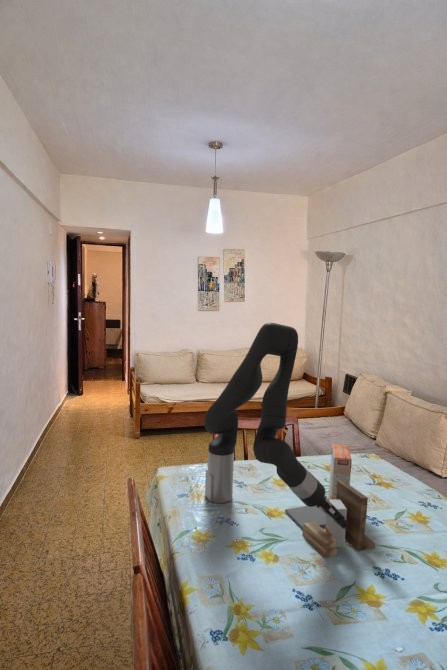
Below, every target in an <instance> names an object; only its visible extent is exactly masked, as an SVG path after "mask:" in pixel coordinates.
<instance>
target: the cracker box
mask: <svg viewBox="0 0 447 670" xmlns="http://www.w3.org/2000/svg"><path fill="white" fill-rule="evenodd" d="M331 445H332V446H331V457H330V458H331V459H330V472H329V473H330V474H329V483H328V484H329V486H328V497H327V498H328V499H329V500H336V494H337V481H340V480H343V481H345V482H346V483H348V484H349V485H350V486H351V473H352V460H353V459H352V455H351V452H350V448H349V445H347V444H346V445H345V444H337V443H336V444H335V443H332V444H331Z"/></svg>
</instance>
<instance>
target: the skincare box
mask: <svg viewBox="0 0 447 670" xmlns="http://www.w3.org/2000/svg"><path fill="white" fill-rule="evenodd" d="M329 501H330V502H331V503H332V504H333V505H334V506H335V507H336V508H337V510H338V511H339V512H340V513H341V514H342V515H343V516H344V517H345V520H346V516H347V509H346V507H345V506H344V504H343V503H342V502H341V500H329ZM330 506H331V505H330ZM326 513H327V512H326ZM327 514H328V513H327ZM324 528H325V529H324V530H325V531H326V532H327V533H328V534H330V535H331V536H332V537H333V538H334V539H336V547H335V548H345V545H346V540H345V532H346V528H345V529H343V528H342V527H341V526H340V525H339V524H337V522H335V520H333V519H332V518H331V517H328V516H327V515H326V527H324Z"/></svg>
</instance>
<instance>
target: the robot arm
mask: <svg viewBox="0 0 447 670" xmlns="http://www.w3.org/2000/svg"><path fill="white" fill-rule="evenodd" d="M298 347H299V334H298V331H297V329H296V328H295V327H292V326H288V325H285V324H280V323H276V322H266V323H264V324H262V326H261V327H260V328H259V330H258V332H257V334H256V336H255V337H254V340H253V342H252V344H251V345H250V348H249V350H248V352H247V354H245V357H244V358H243V360H242V362H241V364H240V365H239V366H238V367H237V369H236V371H235V372H234V373H233V375H232V376H231V378H230V380H229V381H228V383H227V384H226V386H225V388H224V389H223V391H222V392H221V393H220V395H219V396H218V398H216V400H215V401H214V402H213V403H212V404H211V406H210V407H209V408H208V409H207V410H206V413H205V415H204V419H203V424H204V425H203V426H204V429H205V430H206V431H207V432H208V433H209V434H211V435H217V436H216V437H214V439H212V440H210V442H209V444H208V453H207V454H208V456H207V457H208V458H207V469H206V470H205V481H204V482H205V484H204V485H205V486H204V488H205V489H204V495H205V497H206V499H207V500H208V502H209V503H216V504H224V503H225V504H226V503H228V502H230V501H231V500H233V493H234V492H233V490H234V489H233V488H234V487H233V486H234V468H235V467H234V466H235V465H234V464H235V461H234V460H235V448H236V445H237V441H238V440H237V439H238V430H239V429H238V428H239V416H238V411H237V409H239V408H241V407H242V406H244V405H245V404H247V403H248V402H249V401H251V400H252V399H253V398H254V396H255V395H256V393H257V392H258V391H259V389H260V388H261V387H262V384H263V372H262V368H261V367H262V366H261V363H262V362H263V359H264V358H265V357H266V356H268V355H270V356H271V355H272V356H277V357H279V366H278V369H277V372H276V373H275V376H274V377H273V379H272V380H271V381H270V383H269V385H268V386H267V387H266V389H265V390H264V391H265V392H264V394H263V397H262V399H261V400H262V401H261V413H260V415H261V416H260V422H259V425H258V428H257V431H256V433H255V437H254V440H253V447H252V449H253V455H254V457H255V459H256V460H257V462H259V463H261V464H262V463H263V464H267V465H268V464H269V465H273V466H275V467H276V474H277V476H278V478H279V479H280V480H282V482H283V483H284V484H286V485H287V486H288V488H289V489H290V490H291V491H292V492H293V494H294V495H295V496H296V497H297V498H298V499H299V500H300V501H301V503H303V504H304V505H305V506H309V507H314V506H316V507H317V508H318V509H319V510H320V511H323V512H324V513H325V514H326V515H327V516H328V517H331V518H332V519H333V520H335V522H337V524H339V525H340V526H341V527H342V528H343V529H345V528H346V527H347V525H348V522H347V521H346V520H345V517H344V516H343V515H342V514H341V513H340V512H339V511H338V510H337V508H336V507H335V506H334V505H333V504H332V503H331V502H330V501H329V499H328V497H327V496H326V488H325V486H324V485H323V484H322V483H321V482H320V480H318V479H317V477H316V476H314V474H313V473H312V472H311V471H310V470H309V469H307V468H306V467H305V466H304V465H303V464H302V463H301V462H300V461H299V460H298V458H297V457H296V455H295V452H294V451H293V448H292V447H291V446H290V445H289V443H288V442H286V441H285V440H283V439H282V438H277V437H276V435H277V432H278V431H279V430H282V429H284V428H285V427H286V423H287V411H288V410H287V408H288V407H287V406H288V399H289V397H288V396H289V389H290V384H291V380H292V376H293V373H294V372H293V371H294V367H295V366H294V365H295V360H296V357H297V353H298ZM330 505H331V506H330ZM326 512H327V513H328V514H327V513H326Z"/></svg>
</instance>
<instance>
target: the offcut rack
mask: <svg viewBox="0 0 447 670" xmlns="http://www.w3.org/2000/svg"><path fill="white" fill-rule="evenodd" d="M368 499H369V498H368V496H366V495H365V494H363V493H362V492H361V491H359V490H357V489H356V488H355V487H354V486H352V485H351V484H350V485H349V484H348V483H346V482H345V481H343V480H340V481H337V494H336V500H341V502H342V503H343V504H344V506H345V507H346V509H347V516H346V521H347V522H348V525H347V527H346V532H345V542H347V543H349V545H351V546H352V547H353V548H354V549H355V550H356V551H357V552H360V551H365V550H370V549H375V548H376V542H375V541H374V540H373V539H371V538H370V537H369V536H368V535H367V534H366V527H367V526H366V525H367V513H368V501H369V500H368ZM301 535H302V537H304V538H305V540H307V542H308V543H309V544H310V545H311V546H312V547H313V548H314V549H315V550H316V551H317V552H318V553H319V554H320V555H321V556H322V558H324V559H325V558H331V557H335V556H337V553H338V548H337V547H336V539H334V538H333V537H332V536H331V535H330V534H328V533H327V532H326V531H325V529H324V528H321V527H320V526H319V525H318V524H316V523H315V522H314V521H312V522H307V523H304V528H303V530H302V534H301Z"/></svg>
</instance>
